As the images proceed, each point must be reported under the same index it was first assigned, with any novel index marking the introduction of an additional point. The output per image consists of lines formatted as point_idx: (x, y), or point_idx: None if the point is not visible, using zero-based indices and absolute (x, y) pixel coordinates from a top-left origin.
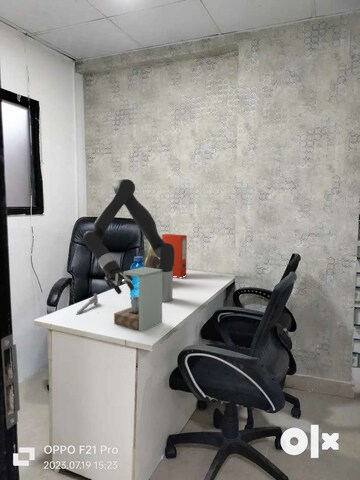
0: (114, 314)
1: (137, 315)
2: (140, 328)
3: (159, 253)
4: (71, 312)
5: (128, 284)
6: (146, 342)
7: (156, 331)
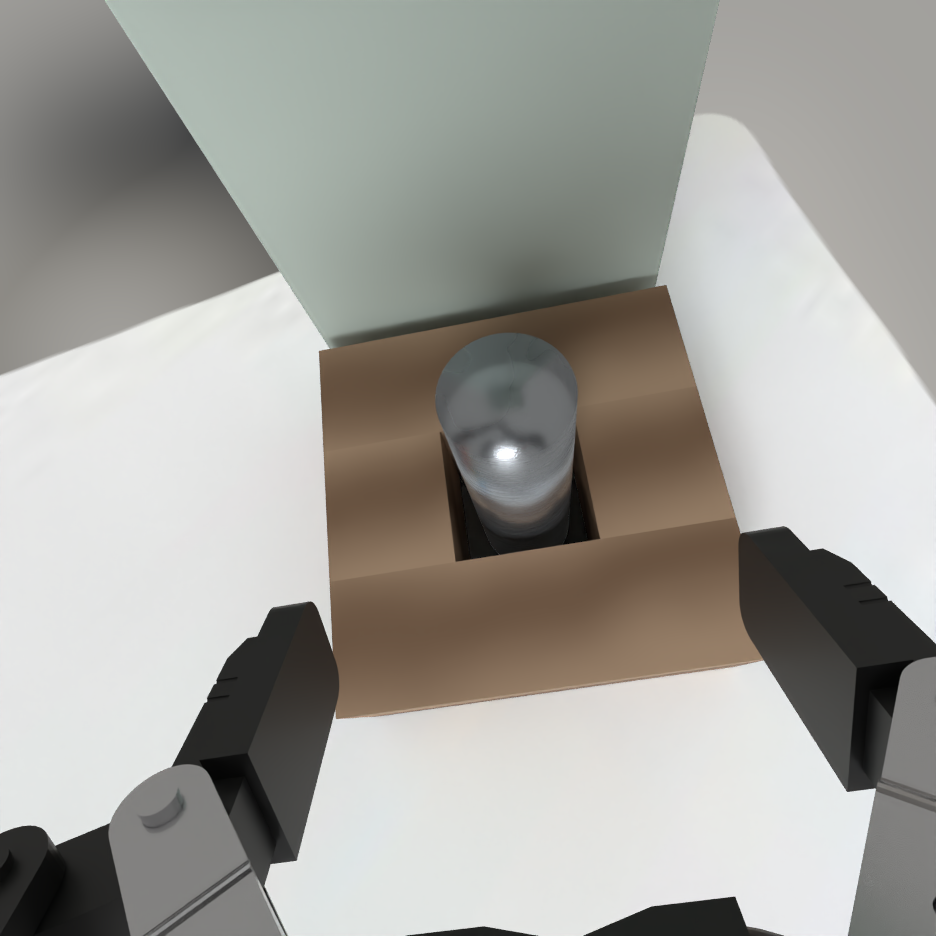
0: None
1: (582, 374)
2: None
3: None
4: None
5: (284, 798)
6: (743, 134)
7: None
